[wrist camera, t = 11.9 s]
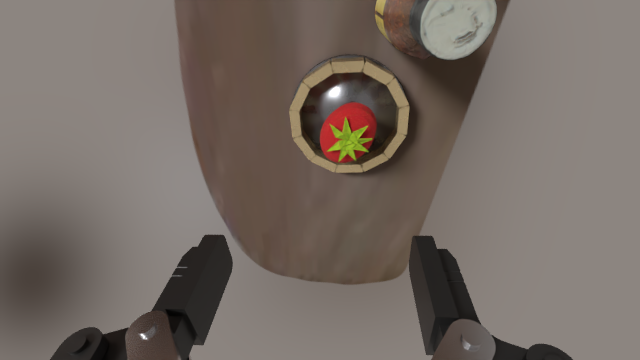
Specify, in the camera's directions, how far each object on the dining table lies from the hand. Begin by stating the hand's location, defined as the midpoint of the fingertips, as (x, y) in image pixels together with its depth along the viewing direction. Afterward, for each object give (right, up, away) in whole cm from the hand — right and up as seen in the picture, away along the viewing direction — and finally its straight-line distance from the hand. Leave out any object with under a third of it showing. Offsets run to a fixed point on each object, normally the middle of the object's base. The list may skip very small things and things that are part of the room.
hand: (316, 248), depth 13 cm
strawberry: (+4, +11, +27) cm, 29 cm away
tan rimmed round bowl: (+4, +12, +27) cm, 30 cm away
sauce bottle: (+9, +22, +20) cm, 31 cm away
